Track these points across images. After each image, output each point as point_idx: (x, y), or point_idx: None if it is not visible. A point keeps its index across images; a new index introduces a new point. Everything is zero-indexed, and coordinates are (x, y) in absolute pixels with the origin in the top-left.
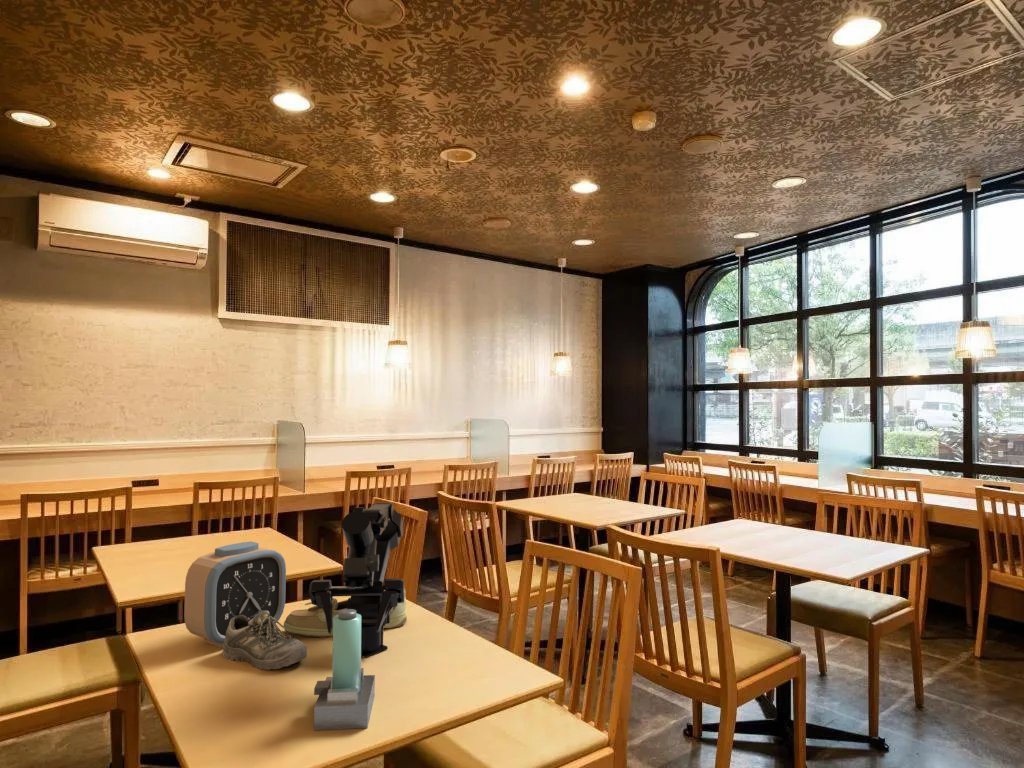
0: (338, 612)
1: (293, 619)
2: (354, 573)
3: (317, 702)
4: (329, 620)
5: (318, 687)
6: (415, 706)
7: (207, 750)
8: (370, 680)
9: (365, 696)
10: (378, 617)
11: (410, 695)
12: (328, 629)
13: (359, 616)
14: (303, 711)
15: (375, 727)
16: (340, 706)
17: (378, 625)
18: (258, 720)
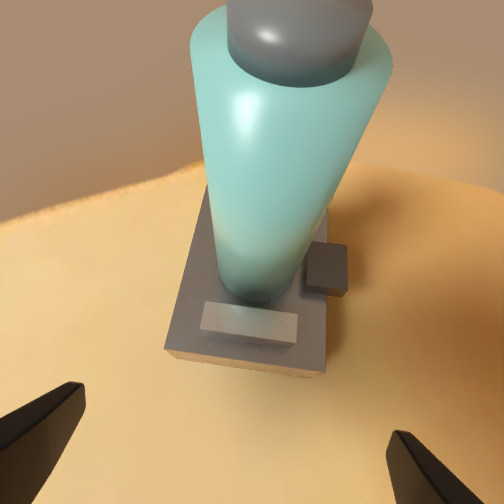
0: (370, 3)
1: None
2: None
3: (324, 215)
4: (454, 497)
5: (335, 246)
6: (89, 277)
7: (487, 207)
8: (184, 308)
9: (209, 217)
10: (2, 443)
11: (79, 340)
12: (413, 436)
13: (204, 40)
14: (354, 314)
15: (195, 213)
16: None
17: (51, 396)
18: (445, 294)
